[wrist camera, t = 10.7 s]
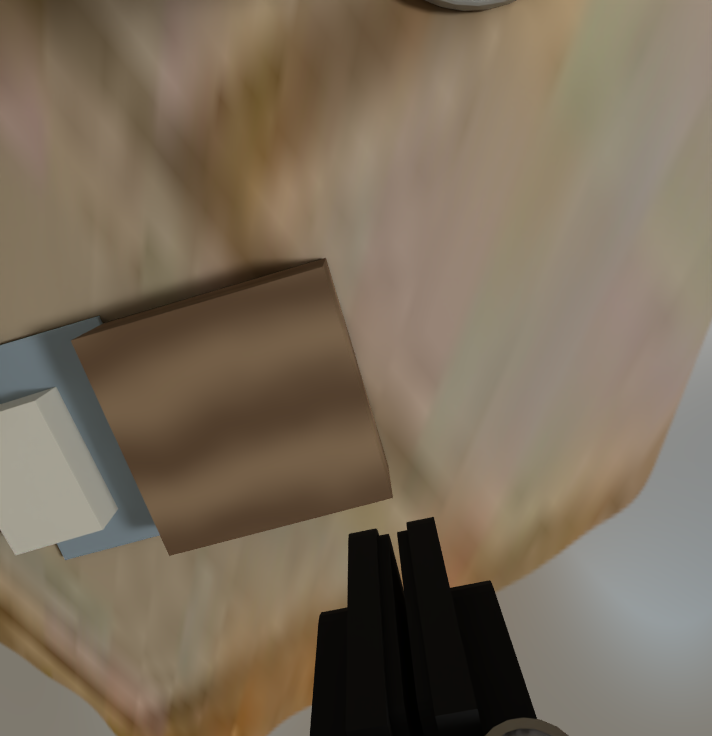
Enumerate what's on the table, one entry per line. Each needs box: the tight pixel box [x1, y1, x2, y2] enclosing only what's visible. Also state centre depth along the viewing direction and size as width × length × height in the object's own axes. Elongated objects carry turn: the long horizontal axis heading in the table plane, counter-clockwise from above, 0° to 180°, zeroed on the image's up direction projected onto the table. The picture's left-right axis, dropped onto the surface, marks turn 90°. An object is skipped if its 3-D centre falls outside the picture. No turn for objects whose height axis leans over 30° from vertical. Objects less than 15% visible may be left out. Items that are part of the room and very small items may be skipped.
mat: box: [0, 316, 160, 560], centre depth 35 cm, size 15×9×1 cm, turn 16°
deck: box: [71, 258, 393, 556], centre depth 33 cm, size 14×14×4 cm
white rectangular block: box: [0, 387, 118, 555], centre depth 34 cm, size 9×6×2 cm, turn 17°
